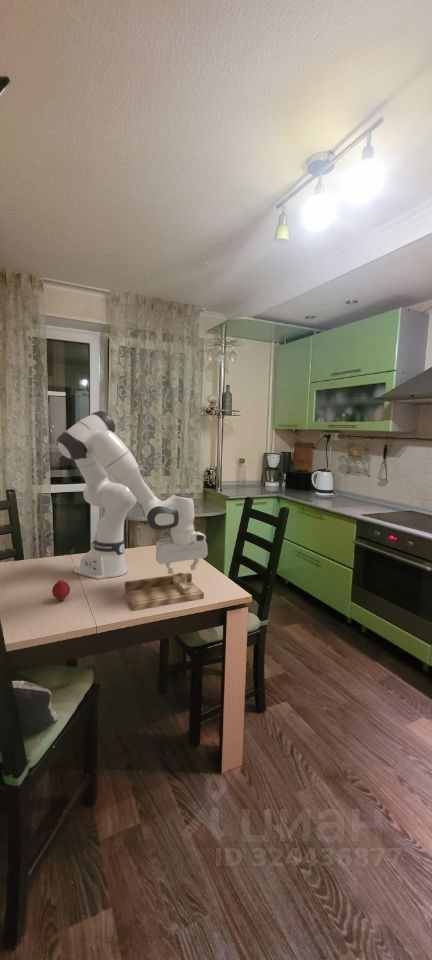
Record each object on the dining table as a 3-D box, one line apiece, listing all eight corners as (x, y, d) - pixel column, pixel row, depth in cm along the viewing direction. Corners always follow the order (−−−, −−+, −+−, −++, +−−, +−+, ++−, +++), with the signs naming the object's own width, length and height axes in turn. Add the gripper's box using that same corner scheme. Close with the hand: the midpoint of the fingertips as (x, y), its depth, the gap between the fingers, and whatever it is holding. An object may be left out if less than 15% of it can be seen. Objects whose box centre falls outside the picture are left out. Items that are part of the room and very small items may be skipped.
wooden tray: (133, 610, 129) (133, 596, 128) (124, 594, 142) (124, 581, 141) (203, 598, 140) (203, 585, 140) (189, 584, 153) (189, 572, 152)
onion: (59, 605, 131) (58, 583, 131) (48, 601, 134) (48, 579, 134) (73, 599, 136) (73, 577, 136) (63, 595, 139) (62, 574, 139)
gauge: (182, 595, 137) (182, 581, 137) (173, 585, 146) (173, 572, 146) (192, 593, 139) (192, 579, 139) (182, 584, 148) (182, 570, 148)
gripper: (158, 541, 137) (158, 578, 138) (209, 535, 146) (208, 570, 148) (153, 537, 142) (153, 572, 144) (202, 531, 152) (201, 565, 153)
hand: (181, 571), depth 146 cm, fingers open, 8 cm apart
